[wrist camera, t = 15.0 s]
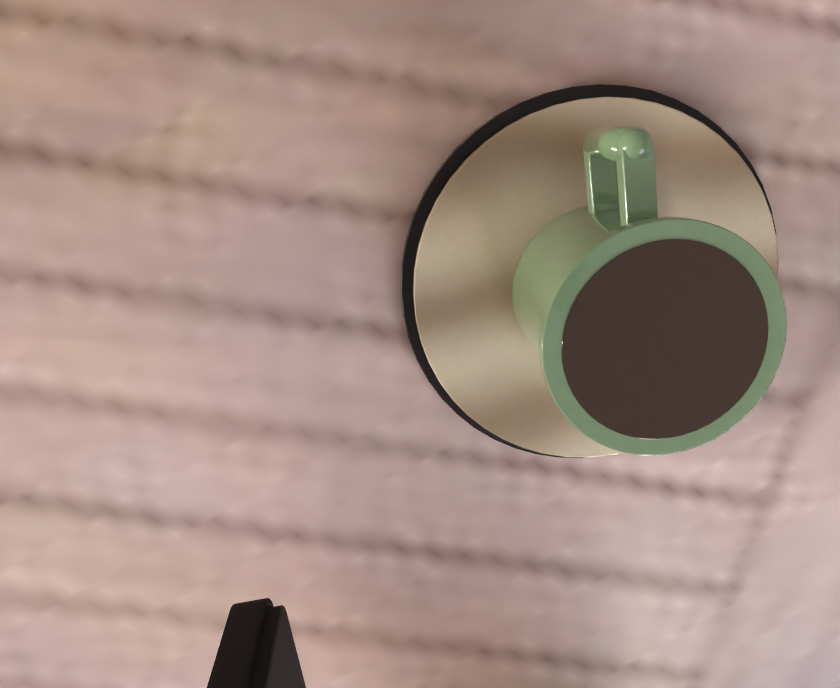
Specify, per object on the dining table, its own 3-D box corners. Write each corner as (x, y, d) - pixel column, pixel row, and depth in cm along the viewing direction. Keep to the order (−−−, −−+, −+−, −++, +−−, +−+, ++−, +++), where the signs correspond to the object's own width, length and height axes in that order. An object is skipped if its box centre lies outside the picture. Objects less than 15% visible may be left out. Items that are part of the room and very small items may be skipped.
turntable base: (348, 385, 31) (347, 390, 31) (488, 19, 27) (490, 17, 27) (666, 496, 34) (671, 503, 33) (839, 173, 30) (848, 174, 29)
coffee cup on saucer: (771, 423, 32) (897, 519, 24) (440, 474, 32) (456, 587, 24) (768, 69, 27) (921, 43, 20) (385, 130, 27) (383, 129, 20)
